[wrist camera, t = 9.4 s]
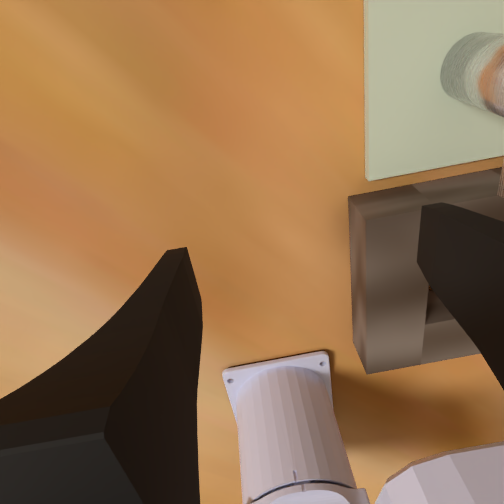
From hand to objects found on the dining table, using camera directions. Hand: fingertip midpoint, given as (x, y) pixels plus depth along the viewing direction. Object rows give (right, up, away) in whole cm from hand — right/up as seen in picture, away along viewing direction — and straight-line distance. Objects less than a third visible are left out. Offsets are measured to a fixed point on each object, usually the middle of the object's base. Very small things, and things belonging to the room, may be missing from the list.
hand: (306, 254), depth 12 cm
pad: (+9, +9, +7) cm, 15 cm away
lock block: (+11, -1, +14) cm, 18 cm away
